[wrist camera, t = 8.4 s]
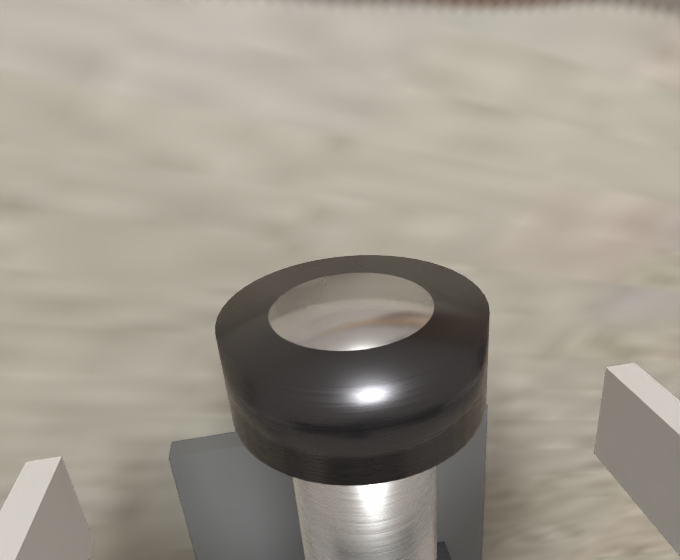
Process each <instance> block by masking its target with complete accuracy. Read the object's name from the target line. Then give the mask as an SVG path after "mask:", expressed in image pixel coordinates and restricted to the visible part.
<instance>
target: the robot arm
mask: <svg viewBox="0 0 680 560" xmlns="http://www.w3.org/2000/svg"><path fill="white" fill-rule="evenodd" d="M594 454H595V455H596V456H597V457H598V459H599V460H600V461H601V462H602V463H603V465H604V466H605V467H606V468H607V469H608V471H609V472H610V473H611V474H612V475H613V476H614V478H615V479H616V480H617V481H618V482H619V484H620V485H621V486H622V487H623V488H624V490H625V491H626V492H627V493H628V494H629V496H630V497H631V498H632V499H633V500H634V502H635V503H636V504H637V505H638V506H639V508H640V509H641V510H642V511H643V512H644V514H645V515H646V516H647V517H648V518H649V520H650V521H651V522H652V523H653V524H654V526H655V527H656V528H657V529H658V530H659V532H660V533H661V534H662V535H663V536H664V538H665V539H666V540H667V541H668V542H669V544H670V545H671V546H672V547H673V548H674V550H675V551H676V552H677V553H678V554H679V556H680V401H679V400H678V399H677V398H676V397H675V396H673V395H672V394H671V393H670V392H669V391H668V390H666V389H665V388H664V387H663V386H662V385H660V384H659V383H658V382H657V381H656V380H654V379H653V378H652V377H651V376H650V375H648V374H647V373H646V372H645V371H644V370H642V369H641V368H640V367H639V366H638V365H636V364H635V363H630V364H624V365H618V366H612V367H606V371H605V378H604V385H603V392H602V399H601V406H600V413H599V421H598V428H597V435H596V442H595V449H594ZM93 546H94V541H93V538H92V536H91V533H90V530H89V528H88V525H87V522H86V520H85V517H84V514H83V512H82V509H81V506H80V504H79V501H78V498H77V496H76V493H75V490H74V488H73V485H72V483H71V480H70V477H69V475H68V472H67V469H66V467H65V464H64V461H63V459H62V456H60V457H54V458H48V459H42V460H36V461H30V462H26V463H25V465H24V467H23V469H22V471H21V473H20V475H19V476H18V478H17V480H16V482H15V484H14V486H13V488H12V490H11V492H10V494H9V495H8V497H7V499H6V501H5V503H4V505H3V507H2V509H1V511H0V560H89V559H90V555H91V552H92V549H93Z"/></svg>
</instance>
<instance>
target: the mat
mask: <svg viewBox="0 0 680 560" xmlns="http://www.w3.org/2000/svg"><path fill="white" fill-rule="evenodd" d="M487 408H488V406H487V404H486V407H485V414H484V417H483V419H482V422H481V425H480V426H479V428H478V430H477V431H476V433H475V435H474V436H473V437H472V438H471V439H470V441H469V442H468V443H467V444H466V445H465V446H464V447H463V448H462V449H460V450H459V451H458V452H457V453H456V454H455V455H453V456H452V457H450V458H449V459H447V460H445V461H444V462H442V463H441V464H439V465H437V466H436V536H437V542H442V541H445V544H446V547H447V549H448V552H449V554H450V557H451V560H482V535H483V509H484V484H485V458H486V433H487ZM169 461H170V465H171V468H172V472H173V476H174V479H175V483H176V487H177V490H178V494H179V498H180V501H181V505H182V509H183V512H184V516H185V520H186V523H187V527H188V531H189V534H190V538H191V542H192V545H193V549H194V553H195V556H196V560H305V555H304V548H303V542H302V535H301V529H300V522H299V516H298V509H297V503H296V496H295V490H294V483H293V477H291V476H288V475H286V474H284V473H281V472H279V471H277V470H275V469H272V468H271V467H269V466H268V465H266V464H264V463H263V462H261V461H260V460H258V459H257V458H256V457H255V456H254V455H253V454H252V453H250V452H249V451H248V449H247V448H246V447H245V446H244V444H243V443H242V442H241V440H240V438H239V436H238V434H237V433H236V432H232V433H226V434H220V435H214V436H207V437H201V438H195V439H189V440H182V441H176V442H172V444H171V449H170V454H169Z"/></svg>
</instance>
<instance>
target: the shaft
mask: <svg viewBox="0 0 680 560" xmlns="http://www.w3.org/2000/svg"><path fill="white" fill-rule="evenodd" d="M489 314H490V312H489V305H488V302H487V300H486V297H485V295H484V294H483V293H482V291H481V290H480V289H479V288H478V287H477V286H476V285H475V284H474V283H473V282H472V281H470V280H469V279H467V278H466V277H464V276H463V275H461V274H459V273H457V272H455V271H453V270H451V269H448V268H446V267H443V266H440V265H437V264H433V263H430V262H426V261H421V260H417V259H411V258H405V257H395V256H380V255H359V256H344V257H335V258H328V259H321V260H316V261H311V262H306V263H302V264H298V265H295V266H291V267H288V268H285V269H282V270H279V271H276V272H274V273H271V274H269V275H266V276H264V277H262V278H260V279H258V280H256V281H254V282H253V283H251V284H249V285H248V286H246V287H244V288H243V289H242V290H240V291H239V292H237V293H236V294H235V295H234V296H233V297H232V298H231V299H230V300H229V301H228V302H227V303H226V304H225V305H224V307H223V308H222V309H221V311H220V313H219V315H218V317H217V321H216V325H215V334H216V339H217V344H218V349H219V354H220V359H221V364H222V369H223V374H224V379H225V384H226V389H227V394H228V399H229V404H230V409H231V414H232V418H233V423H234V426H235V430H236V433H237V434H238V436H239V438H240V440H241V442H242V443H243V444H244V446H245V447H246V448H247V449H248V451H249V452H250V453H252V454H253V455H254V456H255V457H256V458H257V459H258V460H260V461H261V462H263V463H264V464H266V465H268V466H269V467H271V468H272V469H275V470H277V471H279V472H281V473H284V474H286V475H288V476H291V477H293V483H294V490H295V496H296V503H297V509H298V516H299V522H300V529H301V535H302V542H303V548H304V555H305V560H437V536H436V466H437V465H439V464H441V463H442V462H444V461H445V460H447V459H449V458H450V457H452V456H453V455H455V454H456V453H457V452H458V451H459V450H460V449H462V448H463V447H464V446H465V445H466V444H467V443H468V442H469V441H470V439H471V438H472V437H473V436H474V435H475V433H476V431H477V430H478V428H479V426H480V425H481V422H482V419H483V417H484V414H485V407H486V393H487V367H488V340H489Z"/></svg>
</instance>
